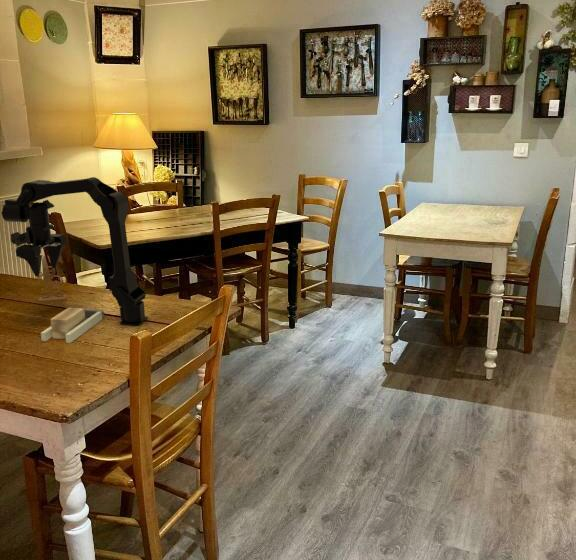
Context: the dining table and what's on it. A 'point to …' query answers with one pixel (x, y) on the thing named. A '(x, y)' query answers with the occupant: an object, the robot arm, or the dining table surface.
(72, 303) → the dining table surface
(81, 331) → the channel
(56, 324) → the birch block
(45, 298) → the gingerbread man figurine
